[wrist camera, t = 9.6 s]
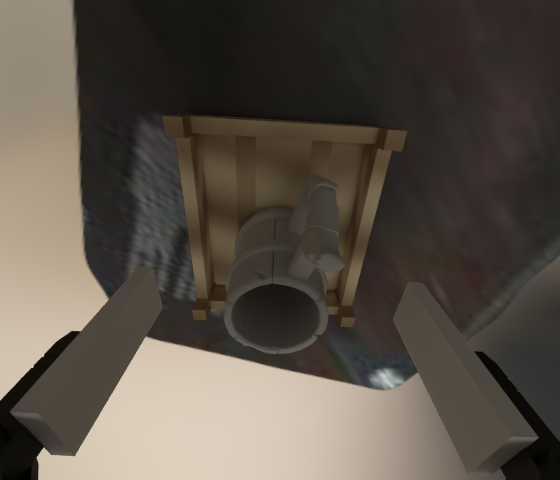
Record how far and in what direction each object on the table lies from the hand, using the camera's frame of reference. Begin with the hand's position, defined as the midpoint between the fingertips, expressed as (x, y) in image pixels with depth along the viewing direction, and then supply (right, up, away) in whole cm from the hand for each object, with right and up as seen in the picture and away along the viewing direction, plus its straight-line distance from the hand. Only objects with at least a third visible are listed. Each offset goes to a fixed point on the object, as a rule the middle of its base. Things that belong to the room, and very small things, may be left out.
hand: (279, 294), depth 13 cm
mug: (+1, +5, +10) cm, 11 cm away
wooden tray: (0, +5, +10) cm, 11 cm away
